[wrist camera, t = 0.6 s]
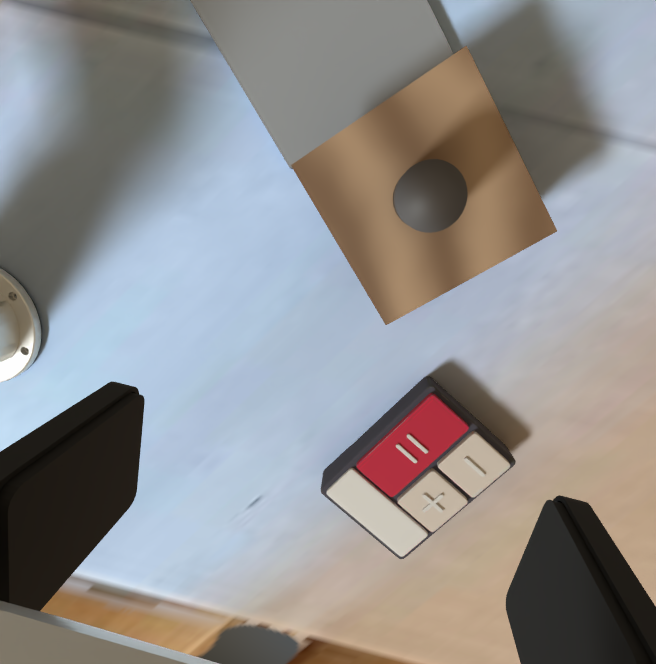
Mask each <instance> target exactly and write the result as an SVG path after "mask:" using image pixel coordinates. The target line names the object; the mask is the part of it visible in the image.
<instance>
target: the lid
mask: <svg viewBox="0 0 656 664" xmlns="http://www.w3.org/2000/svg"><path fill="white" fill-rule="evenodd" d="M291 166H292V168H293V170H294V171H295V173H296V175H297V176H298V178H299V180H300V181H301V183H302V185H303V186H304V188H305V190H306V191H307V193H308V195H309V196H310V198H311V200H312V202H313V203H314V205H315V207H316V208H317V210H318V212H319V213H320V215H321V217H322V218H323V220H324V222H325V223H326V225H327V227H328V228H329V230H330V232H331V234H332V235H333V237H334V239H335V240H336V242H337V244H338V245H339V247H340V249H341V250H342V252H343V254H344V255H345V257H346V259H347V260H348V262H349V264H350V266H351V267H352V269H353V271H354V272H355V274H356V276H357V277H358V279H359V281H360V282H361V284H362V286H363V287H364V289H365V291H366V292H367V294H368V296H369V298H370V299H371V301H372V303H373V304H374V306H375V308H376V309H377V311H378V313H379V314H380V316H381V318H382V319H383V321H384V323H385V324H386V325H387V324H389V323H391V322H393V321H395V320H397V319H398V318H400V317H402V316H404V315H406V314H407V313H409V312H411V311H413V310H415V309H417V308H418V307H420V306H422V305H424V304H426V303H427V302H429V301H431V300H433V299H435V298H437V297H438V296H440V295H442V294H444V293H446V292H447V291H449V290H451V289H453V288H455V287H457V286H458V285H460V284H462V283H464V282H466V281H467V280H469V279H471V278H473V277H475V276H477V275H478V274H480V273H482V272H484V271H486V270H487V269H489V268H491V267H493V266H495V265H497V264H498V263H500V262H502V261H504V260H506V259H507V258H509V257H511V256H513V255H515V254H517V253H518V252H520V251H522V250H524V249H526V248H527V247H529V246H531V245H533V244H535V243H537V242H538V241H540V240H542V239H544V238H546V237H547V236H549V235H551V234H553V233H555V232H557V230H556V227H555V225H554V223H553V221H552V219H551V217H550V215H549V213H548V211H547V209H546V207H545V205H544V203H543V201H542V199H541V197H540V195H539V193H538V191H537V189H536V187H535V185H534V183H533V180H532V178H531V176H530V174H529V172H528V170H527V168H526V166H525V164H524V162H523V160H522V158H521V156H520V154H519V152H518V150H517V148H516V146H515V144H514V142H513V140H512V138H511V136H510V134H509V131H508V129H507V127H506V125H505V123H504V121H503V119H502V117H501V115H500V113H499V111H498V109H497V107H496V105H495V103H494V101H493V99H492V97H491V95H490V93H489V91H488V89H487V87H486V84H485V82H484V80H483V78H482V76H481V74H480V72H479V70H478V68H477V66H476V64H475V62H474V60H473V58H472V56H471V54H470V52H469V50H468V48H467V46H465V47H464V48H462V49H461V50H459V51H458V52H456V53H455V54H453V55H452V56H451V57H449V58H448V59H446V60H445V61H443V62H442V63H440V64H439V65H437V66H436V67H434V68H433V69H431V70H430V71H428V72H427V73H426V74H424V75H423V76H421V77H420V78H418V79H417V80H415V81H414V82H412V83H411V84H409V85H408V86H406V87H405V88H404V89H402V90H401V91H399V92H398V93H396V94H395V95H393V96H392V97H390V98H389V99H387V100H386V101H384V102H383V103H381V104H380V105H379V106H377V107H376V108H374V109H373V110H371V111H370V112H368V113H367V114H365V115H364V116H362V117H361V118H359V119H358V120H356V121H355V122H354V123H352V124H351V125H349V126H348V127H346V128H345V129H343V130H342V131H340V132H339V133H337V134H336V135H334V136H333V137H331V138H330V139H329V140H327V141H326V142H324V143H323V144H321V145H320V146H318V147H317V148H315V149H314V150H312V151H311V152H309V153H308V154H306V155H305V156H304V157H302V158H301V159H299V160H298V161H296V162H295V163H293V164H292V165H291Z"/></svg>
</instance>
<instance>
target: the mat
mask: <svg viewBox="0 0 656 664" xmlns="http://www.w3.org/2000/svg"><path fill="white" fill-rule="evenodd" d="M190 1H191V3H192V4H193V6H194V8H195V9H196V11H197V13H198V14H199V16H200V18H201V19H202V21H203V23H204V24H205V26H206V28H207V29H208V31H209V33H210V35H211V36H212V38H213V40H214V41H215V43H216V45H217V46H218V48H219V50H220V51H221V53H222V55H223V56H224V58H225V60H226V61H227V63H228V65H229V66H230V68H231V70H232V72H233V73H234V75H235V77H236V78H237V80H238V82H239V83H240V85H241V87H242V88H243V90H244V92H245V93H246V95H247V97H248V98H249V100H250V102H251V103H252V105H253V107H254V108H255V110H256V112H257V114H258V115H259V117H260V119H261V120H262V122H263V124H264V125H265V127H266V129H267V130H268V132H269V134H270V135H271V137H272V139H273V140H274V142H275V144H276V145H277V147H278V149H279V151H280V152H281V154H282V156H283V157H284V159H285V161H286V162H287V164H288V166H289V167H290V168H291V169H293V168H292V166H291V165H292V164H293V163H295V162H296V161H298V160H299V159H301V158H302V157H304V156H305V155H306V154H308V153H309V152H311V151H312V150H314V149H315V148H317V147H318V146H320V145H321V144H323V143H324V142H326V141H327V140H329V139H330V138H331V137H333V136H334V135H336V134H337V133H339V132H340V131H342V130H343V129H345V128H346V127H348V126H349V125H351V124H352V123H354V122H355V121H356V120H358V119H359V118H361V117H362V116H364V115H365V114H367V113H368V112H370V111H371V110H373V109H374V108H376V107H377V106H379V105H380V104H381V103H383V102H384V101H386V100H387V99H389V98H390V97H392V96H393V95H395V94H396V93H398V92H399V91H401V90H402V89H404V88H405V87H406V86H408V85H409V84H411V83H412V82H414V81H415V80H417V79H418V78H420V77H421V76H423V75H424V74H426V73H427V72H428V71H430V70H431V69H433V68H434V67H436V66H437V65H439V64H440V63H442V62H443V61H445V60H446V59H448V58H449V57H451V56H452V55H453V54H454V53H453V51H452V49H451V47H450V45H449V43H448V41H447V39H446V37H445V35H444V33H443V31H442V29H441V27H440V25H439V23H438V21H437V19H436V17H435V15H434V13H433V11H432V9H431V7H430V5H429V3H428V1H427V0H190Z"/></svg>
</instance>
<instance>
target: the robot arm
mask: <svg viewBox="0 0 656 664" xmlns="http://www.w3.org/2000/svg"><path fill="white" fill-rule="evenodd" d="M40 345H41V326H40V320H39V317H38V313H37V310H36V308H35V306H34V304H33V302H32V300H31V298H30V296H29V295H28V294H27V292H26V291H25V289H24V288H23V287H22V286H21V285H20V284H19V283H18V282H17V280H16V279H15V278H13V277H12V276H11V275H10V274H8V273H7V272H6V271H4V270H3V269H1V268H0V382H4V381H8V380H10V379H12V378H14V377H16V376H18V375H20V374H21V373H23V372H24V371H26V370H27V369H28V368H29V367H30V366H31V365H32V363H33V362H34V360H35V358H36V356H37V355H38V351H39V348H40ZM143 412H144V397H143V396H142V395H139V391H138V389H137V388H136V387H133V386H129V385H125V384H121V383H117V382H110V383H108V384H106V385H105V386H103V387H102V388H100V389H98V390H97V391H95V392H94V393H92V394H91V395H89V396H87V397H86V398H84V399H83V400H81V401H80V402H78V403H76V404H75V405H73V406H72V407H70V408H69V409H67V410H65V411H64V412H62V413H61V414H59V415H58V416H56V417H54V418H53V419H51V420H50V421H48V422H47V423H45V424H43V425H42V426H40V427H39V428H37V429H36V430H34V431H32V432H31V433H29V434H28V435H26V436H25V437H23V438H21V439H20V440H18V441H17V442H15V443H13V444H12V445H10V446H9V447H7V448H6V449H4V450H2V451H1V452H0V664H218V663H215V662H212V661H208V660H205V659H202V658H198V657H195V656H192V655H188V654H185V653H181V652H178V651H175V650H171V649H168V648H164V647H161V646H157V645H154V644H151V643H147V642H144V641H140V640H137V639H134V638H130V637H127V636H123V635H120V634H117V633H113V632H110V631H106V630H103V629H99V628H96V627H93V626H89V625H86V624H82V623H79V622H76V621H72V620H69V619H65V618H62V617H58V616H55V615H51V614H47V613H44V612H40V610H41V609H42V608H43V607H44V606H45V605H46V603H47V602H48V601H49V600H50V599H51V598H52V596H53V595H54V594H55V593H56V592H57V591H58V590H59V588H60V587H61V586H62V585H63V584H64V583H65V581H66V580H67V579H68V578H69V577H70V576H71V574H72V573H73V572H74V571H75V570H76V569H77V568H78V566H79V565H80V564H81V563H82V562H83V561H84V559H85V558H86V557H87V556H88V555H89V554H90V552H91V551H92V550H93V549H94V548H95V547H96V546H97V544H98V543H99V542H100V541H101V540H102V539H103V537H104V536H105V535H106V534H107V533H108V532H109V531H110V529H111V528H112V527H113V526H114V525H115V524H116V522H117V521H118V520H119V519H120V518H121V517H122V515H123V514H124V513H125V512H126V511H127V510H128V509H129V507H130V506H131V504H132V503H133V501H134V498H135V496H136V492H137V482H138V470H139V459H140V447H141V436H142V424H143ZM506 611H507V615H508V619H509V622H510V626H511V629H512V633H513V637H514V640H515V644H516V648H517V651H518V655H519V659H520V662H521V664H656V607H655V605H654V603H653V602H652V600H651V599H650V597H649V596H648V594H647V593H646V591H645V590H644V588H643V586H642V585H641V583H640V582H639V580H638V579H637V577H636V576H635V574H634V573H633V571H632V569H631V568H630V566H629V565H628V563H627V562H626V560H625V559H624V557H623V556H622V554H621V552H620V551H619V549H618V548H617V546H616V545H615V543H614V542H613V540H612V538H611V537H610V535H609V534H608V532H607V531H606V529H605V528H604V526H603V525H602V523H601V521H600V520H599V518H598V517H597V515H596V514H595V512H594V511H593V509H592V508H591V506H590V505H589V504H588V503H586V502H583V501H579V500H575V499H571V498H568V497H564V496H557V497H556V498H555V499H554V500H553V501H552V500H547V501H546V502H545V504H544V506H543V508H542V511H541V513H540V516H539V518H538V520H537V523H536V525H535V528H534V530H533V532H532V535H531V537H530V540H529V542H528V544H527V547H526V549H525V551H524V554H523V556H522V559H521V561H520V563H519V566H518V568H517V571H516V573H515V575H514V578H513V580H512V583H511V585H510V587H509V590H508V593H507V597H506Z"/></svg>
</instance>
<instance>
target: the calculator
mask: <svg viewBox="0 0 656 664" xmlns="http://www.w3.org/2000/svg"><path fill="white" fill-rule="evenodd" d="M514 465H515V459H514V458H513V456H512V454H511V453H510V451H509V450H508V448H507V447H506V446H505V445H504V444H503V443H502V442H501V441H500V440H499V439H498V438H497V437H496V436H495V435H493V434H492V433H491V432H490V431H489V430H488V429H487V428H486V427H485V426H484V425H482V424H481V423H480V422H479V421H478V420H477V419H476V418H475V417H474V416H473V415H472V414H470V413H469V412H468V411H467V410H466V409H465V408H464V407H463V406H462V405H461V404H459V403H458V402H457V401H456V400H455V399H454V398H453V397H452V396H451V395H450V394H448V393H447V392H446V391H445V390H444V389H443V388H442V387H441V386H440V385H439V384H438V383H436V382H435V381H434V380H433V379H432V378H431V377H428V376H427V377H424V378H423V379H422V380H421V381H420V382H419V383H418V384H417V385H416V386H414V387H413V388H412V389H411V390H410V391H409V392H408V393H407V394H406V395H405V396H404V397H403V398H402V399H400V400H399V401H398V402H397V403H396V404H395V405H394V406H393V407H392V408H391V409H390V410H389V411H388V412H387V413H386V414H384V415H383V416H382V417H381V418H380V419H379V420H378V421H377V422H376V423H375V424H374V425H373V426H372V427H371V428H370V429H369V430H368V431H367V432H366V433H365V434H364V435H363V436H362V437H361V438H359V439H358V440H357V441H356V442H355V443H354V444H353V445H352V446H350V447H349V448H348V449H346V450H345V451H344V452H343V453H342V454H341V455H340V456H339V457H338V458H337V459H336V460H335V461H334V462H332V463H331V464H330V465H329V466H328V467H327V468H326V469H325V470H324V472H323V478H322V485H321V493H322V494H323V495H324V496H325V497H327V498H328V499H329V500H330V501H331V502H333V503H334V504H335V505H336V506H337V507H338V508H340V509H341V510H342V511H343V512H344V513H346V514H347V515H348V516H349V517H350V518H352V519H353V520H354V521H355V522H356V523H357V524H359V525H360V526H361V527H362V528H363V529H365V530H366V531H367V532H368V533H369V534H371V535H372V536H373V537H374V538H375V539H376V540H378V541H379V542H380V543H381V544H382V545H384V546H385V547H386V548H387V549H388V550H389V551H391V552H392V553H393V554H394V555H395V556H397V557H398V558H399V559H404V558H405V557H406V556H408V555H409V554H410V553H411V552H412V551H414V550H415V549H416V548H417V547H418V546H419V545H421V544H422V543H423V542H424V541H425V540H426V539H428V538H429V537H430V536H431V535H432V534H434V533H435V532H436V531H437V530H438V529H439V528H441V527H442V526H443V525H444V524H445V523H447V522H448V521H449V520H450V519H451V518H452V517H454V516H455V515H456V514H457V513H458V512H460V511H461V510H462V509H463V508H464V507H465V506H467V505H468V504H469V503H470V502H471V501H473V500H474V499H475V498H476V497H477V496H478V495H480V494H481V493H482V492H483V491H484V490H485V489H487V488H488V487H489V486H490V485H491V484H493V483H494V482H495V481H496V480H497V479H498V478H500V477H501V476H502V475H503V474H504V473H506V472H507V471H508V470H509V469H510V468H511V467H513V466H514Z"/></svg>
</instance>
